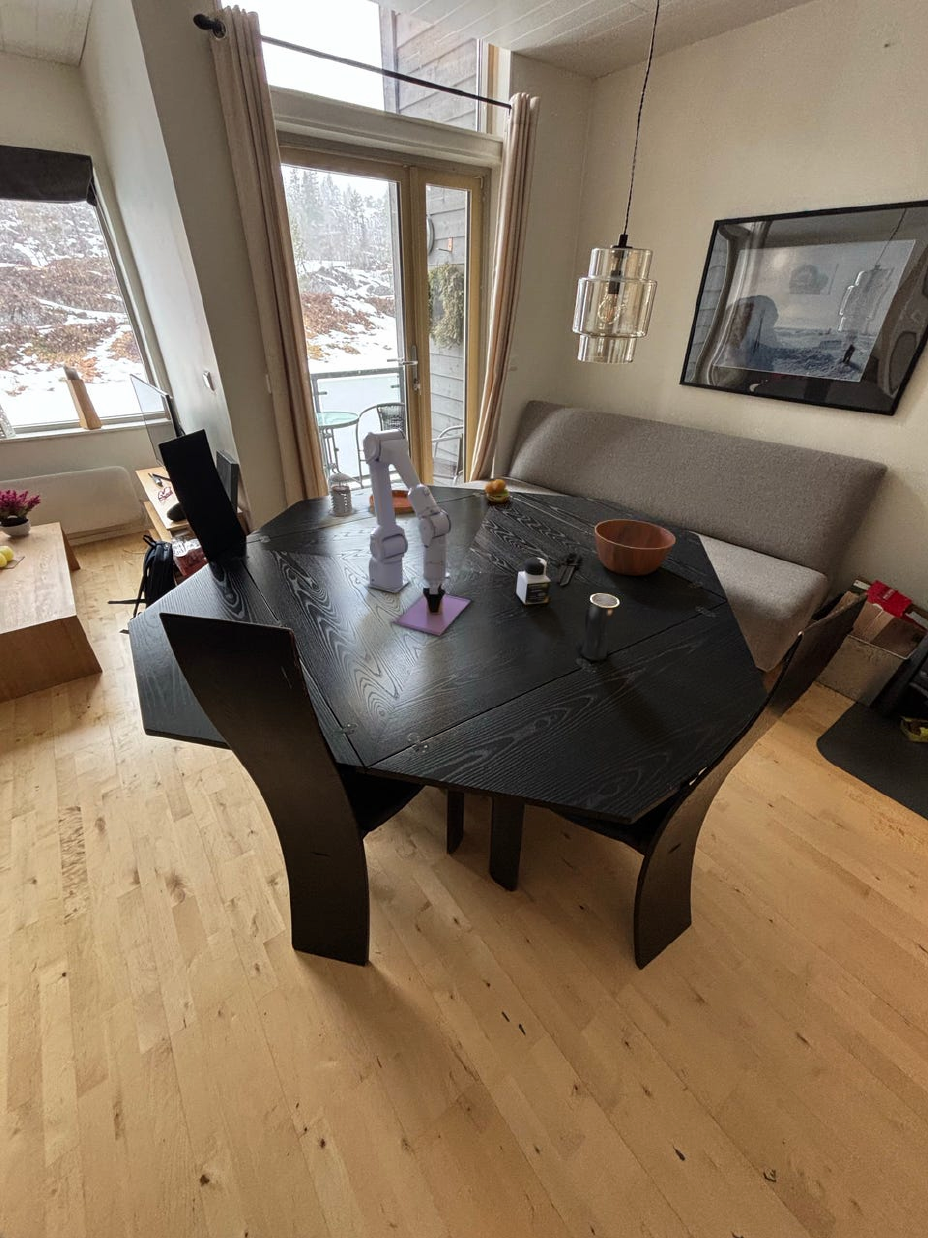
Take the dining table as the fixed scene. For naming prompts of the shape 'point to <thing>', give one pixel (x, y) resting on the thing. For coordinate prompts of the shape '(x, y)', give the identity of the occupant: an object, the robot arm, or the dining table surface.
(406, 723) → the dining table surface
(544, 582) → the medicine bottle
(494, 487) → the cheeseburger
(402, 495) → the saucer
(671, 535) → the bowl
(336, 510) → the french press
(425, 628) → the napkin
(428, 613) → the salt mill
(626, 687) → the dining table surface
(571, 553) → the knife
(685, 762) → the dining table surface
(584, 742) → the dining table surface
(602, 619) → the beer glass
